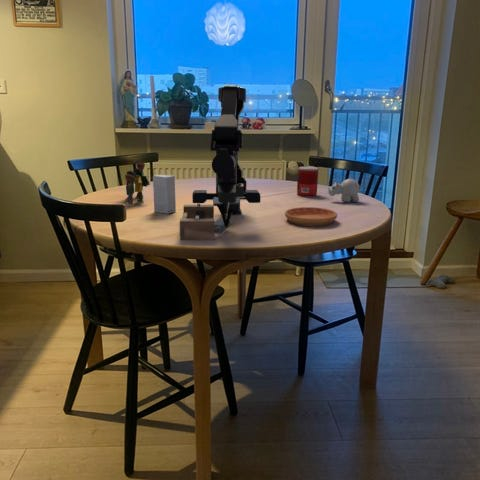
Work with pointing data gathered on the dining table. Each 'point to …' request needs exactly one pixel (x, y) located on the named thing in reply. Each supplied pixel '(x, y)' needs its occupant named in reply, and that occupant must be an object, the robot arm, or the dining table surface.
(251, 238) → the dining table surface
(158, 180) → the skincare box
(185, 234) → the open box
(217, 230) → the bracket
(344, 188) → the toy rhinoceros
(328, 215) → the saucer
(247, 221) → the dining table surface
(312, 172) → the canned food
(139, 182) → the dark toy figure
